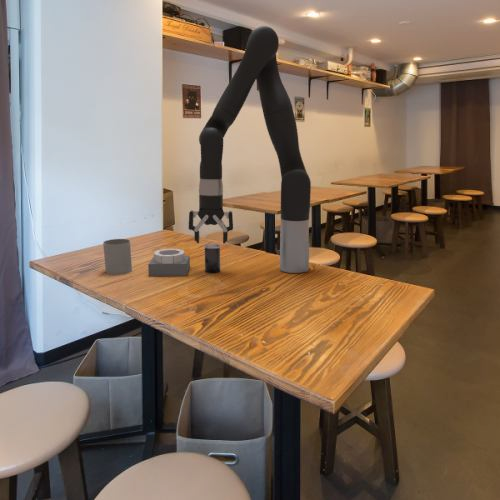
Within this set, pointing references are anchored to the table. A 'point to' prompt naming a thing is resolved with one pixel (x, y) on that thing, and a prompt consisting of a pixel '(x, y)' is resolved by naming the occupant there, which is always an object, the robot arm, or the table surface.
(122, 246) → the cup
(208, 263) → the lens
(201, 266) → the table surface
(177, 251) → the grey block with ring
